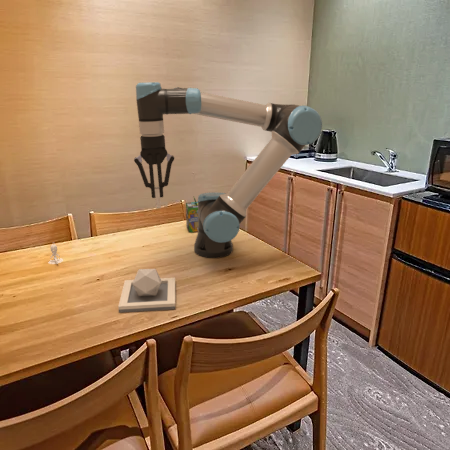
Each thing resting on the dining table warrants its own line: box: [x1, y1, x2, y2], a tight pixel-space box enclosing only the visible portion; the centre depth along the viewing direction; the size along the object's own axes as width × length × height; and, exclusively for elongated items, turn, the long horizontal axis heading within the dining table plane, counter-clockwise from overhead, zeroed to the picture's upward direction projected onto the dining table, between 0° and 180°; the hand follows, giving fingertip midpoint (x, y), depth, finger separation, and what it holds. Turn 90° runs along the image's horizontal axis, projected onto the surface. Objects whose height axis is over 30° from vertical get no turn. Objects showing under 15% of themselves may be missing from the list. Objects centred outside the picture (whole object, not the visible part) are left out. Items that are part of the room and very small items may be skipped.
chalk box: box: [185, 196, 198, 233], centre depth 174 cm, size 9×9×15 cm
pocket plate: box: [117, 277, 176, 313], centre depth 119 cm, size 16×16×2 cm
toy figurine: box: [47, 243, 64, 265], centre depth 141 cm, size 5×8×7 cm, turn 31°
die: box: [132, 268, 162, 296], centre depth 118 cm, size 8×9×10 cm
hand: (158, 206), depth 130 cm, fingers closed
